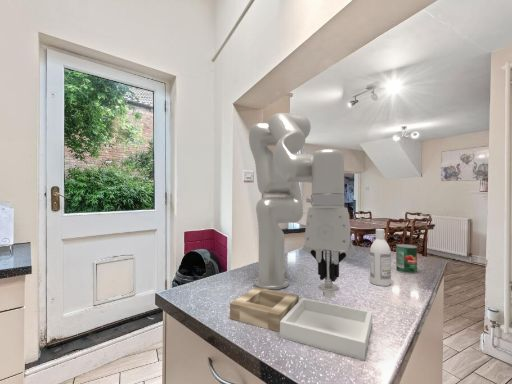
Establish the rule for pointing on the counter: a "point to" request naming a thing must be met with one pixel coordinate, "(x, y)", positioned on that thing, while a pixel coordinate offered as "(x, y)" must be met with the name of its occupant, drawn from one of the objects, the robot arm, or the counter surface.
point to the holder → (263, 307)
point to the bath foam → (380, 260)
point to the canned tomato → (406, 258)
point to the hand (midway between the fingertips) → (328, 278)
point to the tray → (329, 327)
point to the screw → (328, 278)
